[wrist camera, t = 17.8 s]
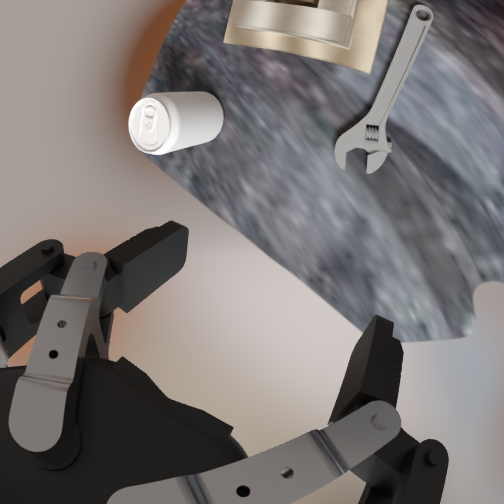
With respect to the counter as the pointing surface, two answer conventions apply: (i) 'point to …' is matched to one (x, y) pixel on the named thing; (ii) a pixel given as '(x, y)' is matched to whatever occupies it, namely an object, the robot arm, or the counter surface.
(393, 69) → the adjustable wrench
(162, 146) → the beverage can
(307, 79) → the counter surface
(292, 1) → the tan long rectangular block
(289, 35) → the wooden socket base
